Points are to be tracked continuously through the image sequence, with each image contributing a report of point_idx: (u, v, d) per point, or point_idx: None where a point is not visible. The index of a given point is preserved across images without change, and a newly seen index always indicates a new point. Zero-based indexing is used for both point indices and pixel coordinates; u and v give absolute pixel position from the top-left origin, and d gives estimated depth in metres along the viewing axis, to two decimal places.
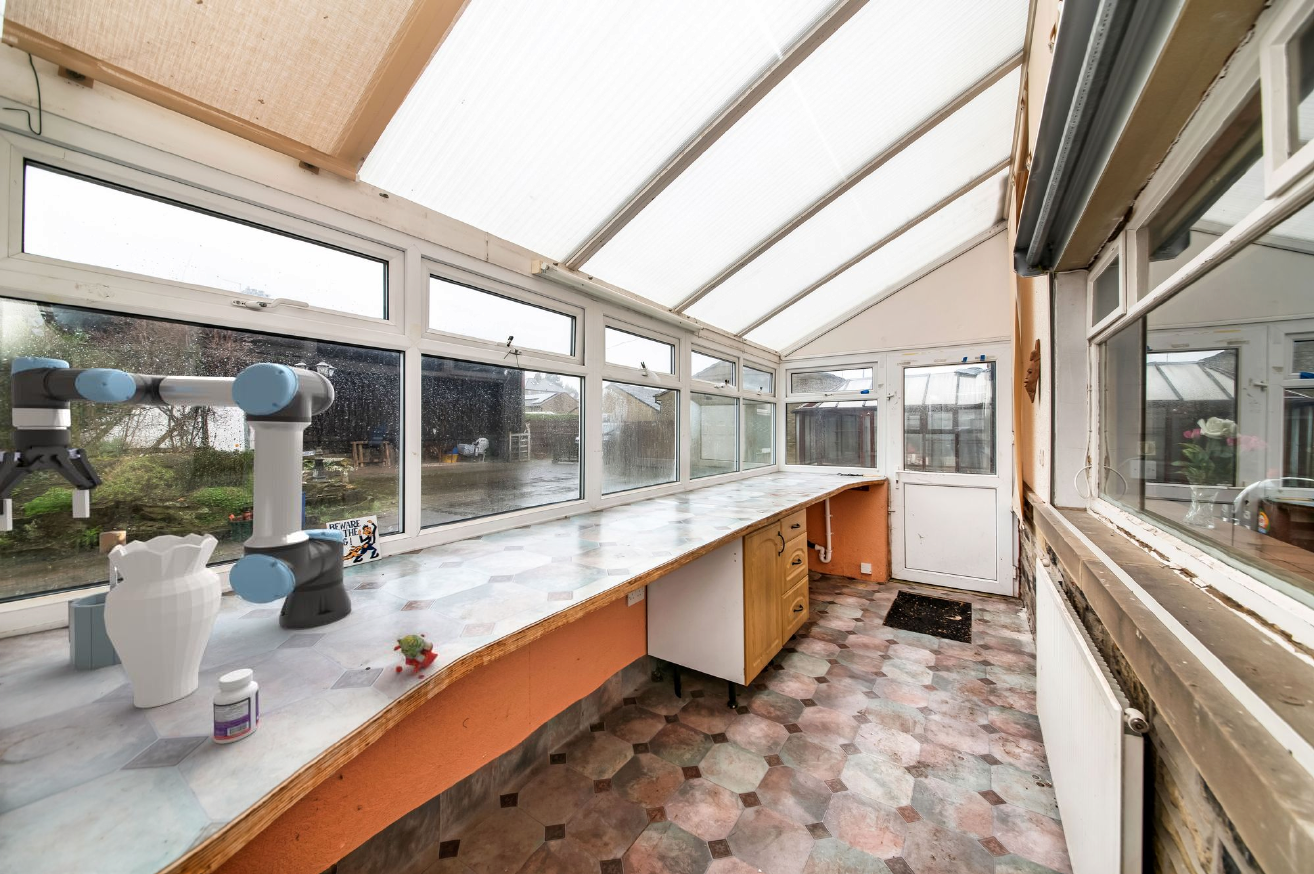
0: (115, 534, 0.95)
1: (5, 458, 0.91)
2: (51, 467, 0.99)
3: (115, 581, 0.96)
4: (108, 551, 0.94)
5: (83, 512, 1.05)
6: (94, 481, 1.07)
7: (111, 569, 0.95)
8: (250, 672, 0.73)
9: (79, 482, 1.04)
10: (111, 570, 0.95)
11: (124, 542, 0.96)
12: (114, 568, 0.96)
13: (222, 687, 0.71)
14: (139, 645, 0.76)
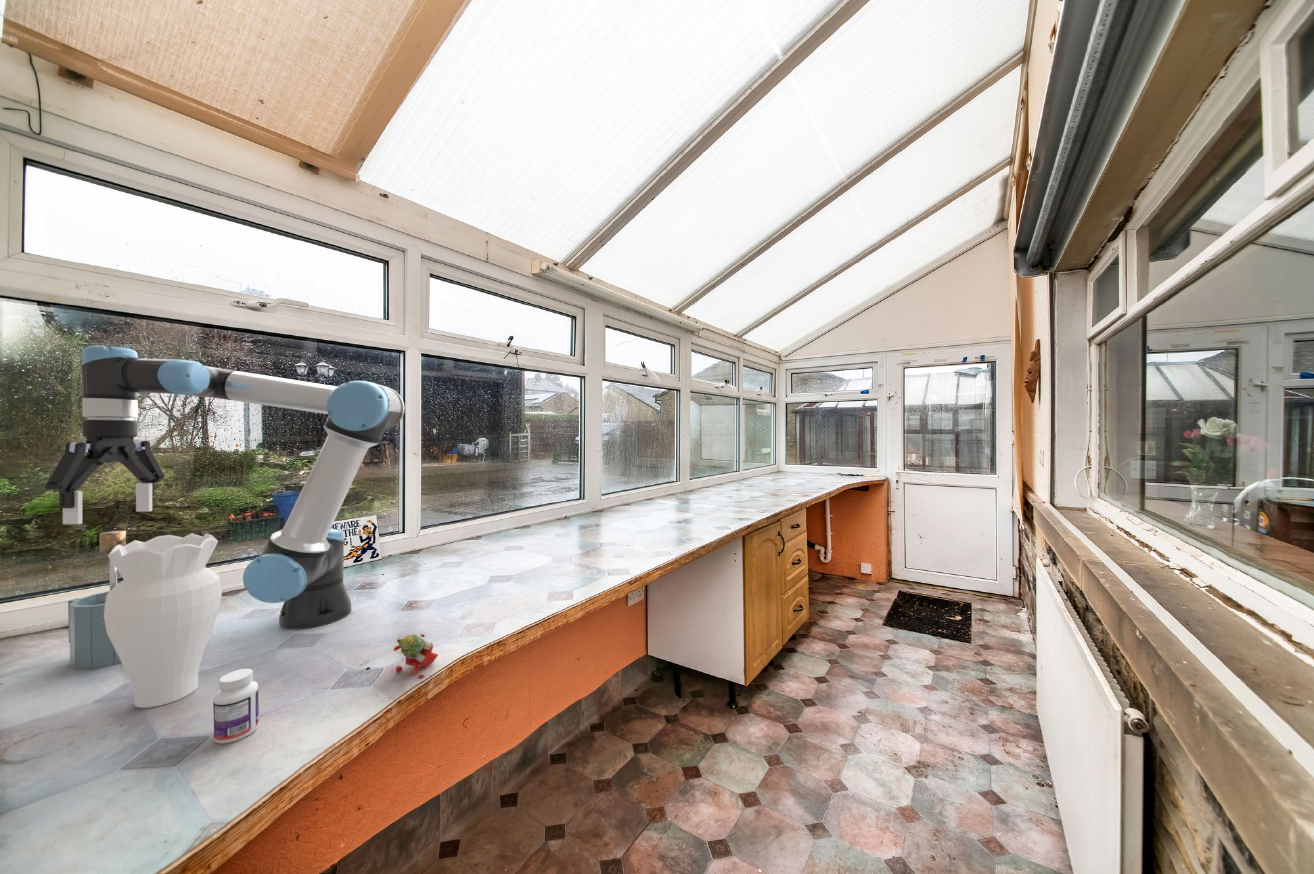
0: (115, 534, 0.95)
1: (77, 449, 0.89)
2: (118, 459, 0.96)
3: (115, 581, 0.96)
4: (108, 551, 0.94)
5: (146, 506, 1.02)
6: (157, 474, 1.04)
7: (111, 569, 0.95)
8: (250, 672, 0.73)
9: (143, 475, 1.01)
10: (111, 570, 0.95)
11: (124, 542, 0.96)
12: (114, 568, 0.96)
13: (222, 687, 0.71)
14: (139, 645, 0.76)
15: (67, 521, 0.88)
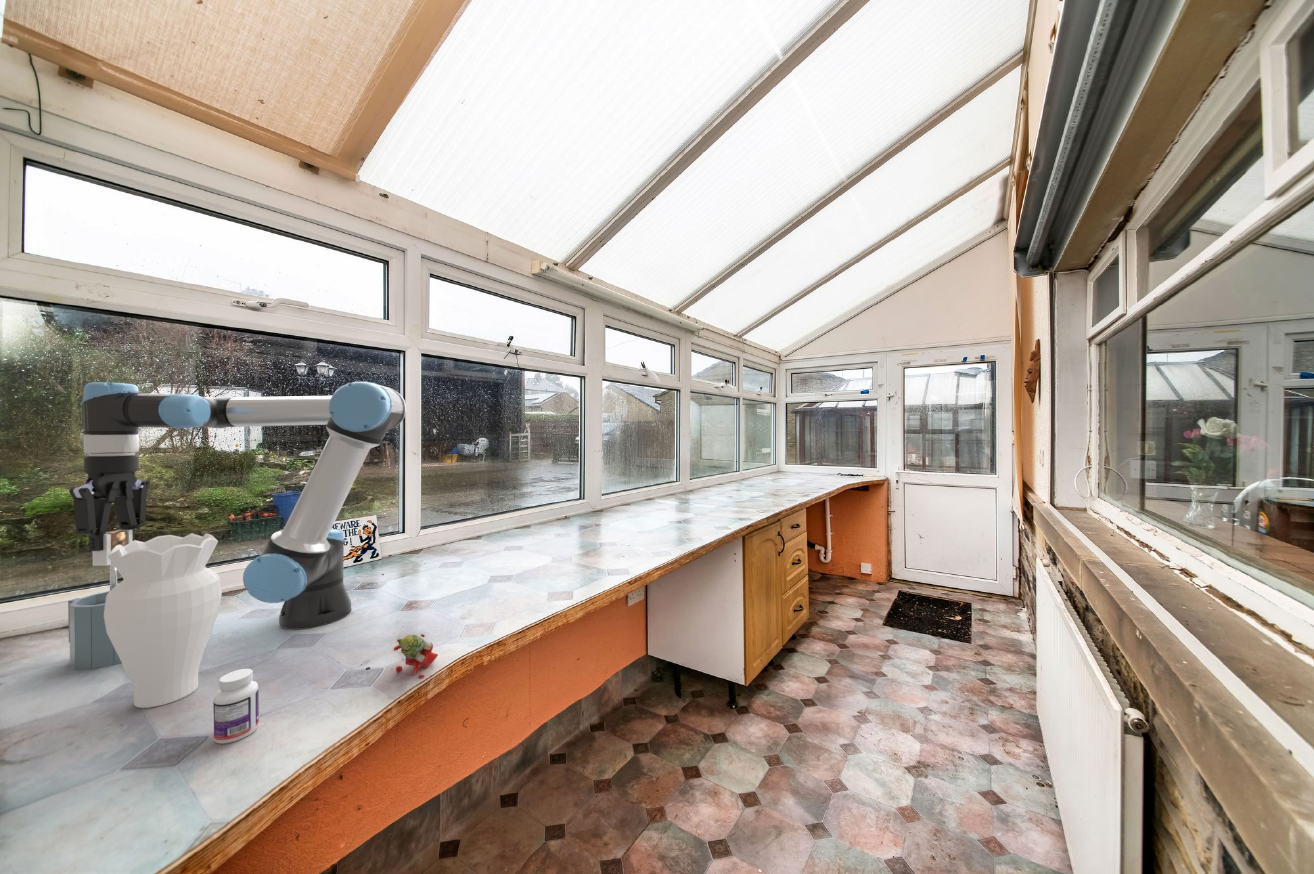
0: (115, 534, 0.95)
1: (83, 496, 0.90)
2: (120, 494, 0.96)
3: (115, 581, 0.96)
4: None
5: None
6: (139, 518, 1.00)
7: (111, 569, 0.95)
8: (250, 672, 0.73)
9: (127, 517, 0.98)
10: (111, 570, 0.95)
11: (124, 542, 0.96)
12: (114, 568, 0.96)
13: (222, 687, 0.71)
14: (139, 645, 0.76)
15: (96, 562, 0.93)
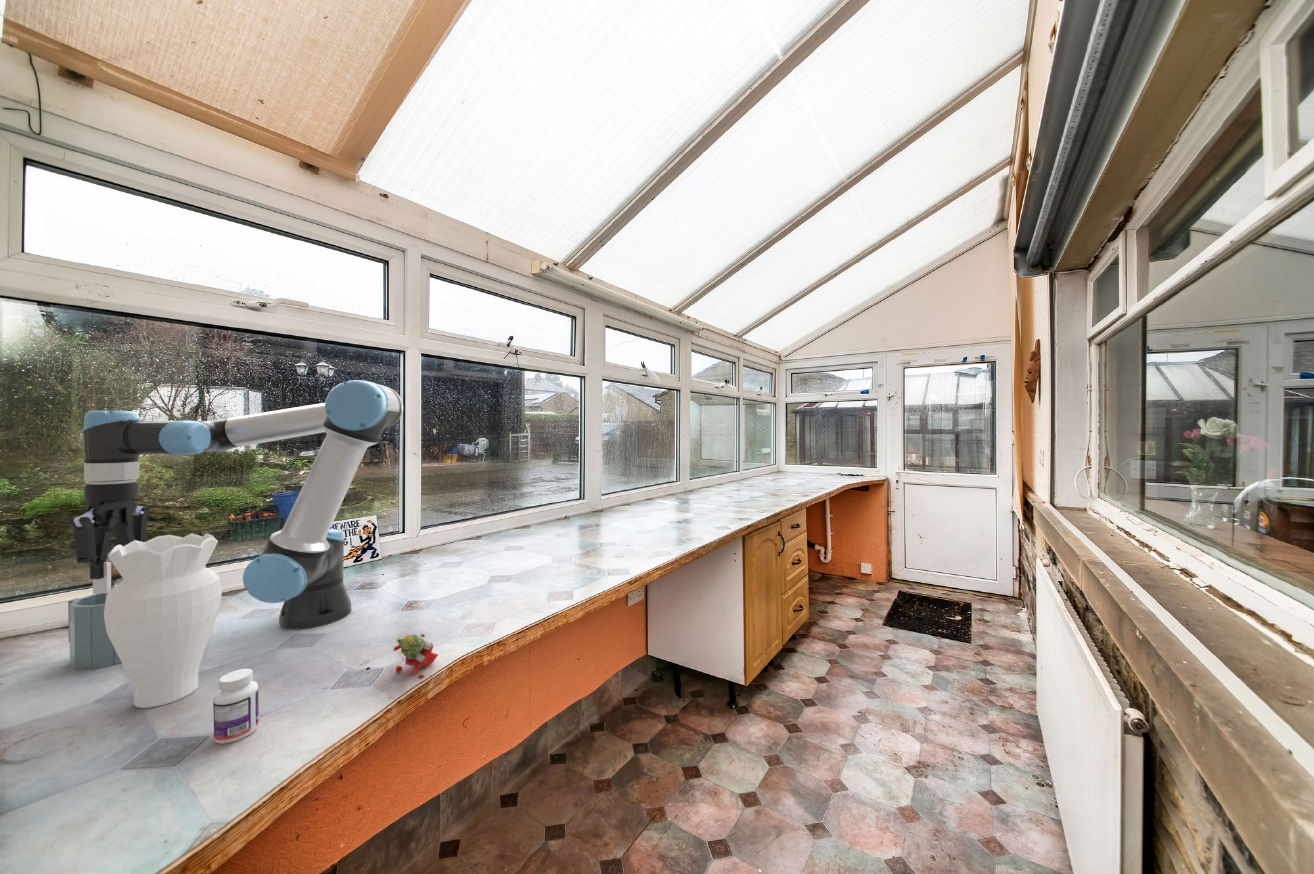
0: None
1: (84, 525, 0.90)
2: (120, 521, 0.96)
3: None
4: None
5: None
6: None
7: None
8: (250, 672, 0.73)
9: None
10: None
11: None
12: None
13: (222, 687, 0.71)
14: (139, 645, 0.76)
15: (97, 590, 0.93)
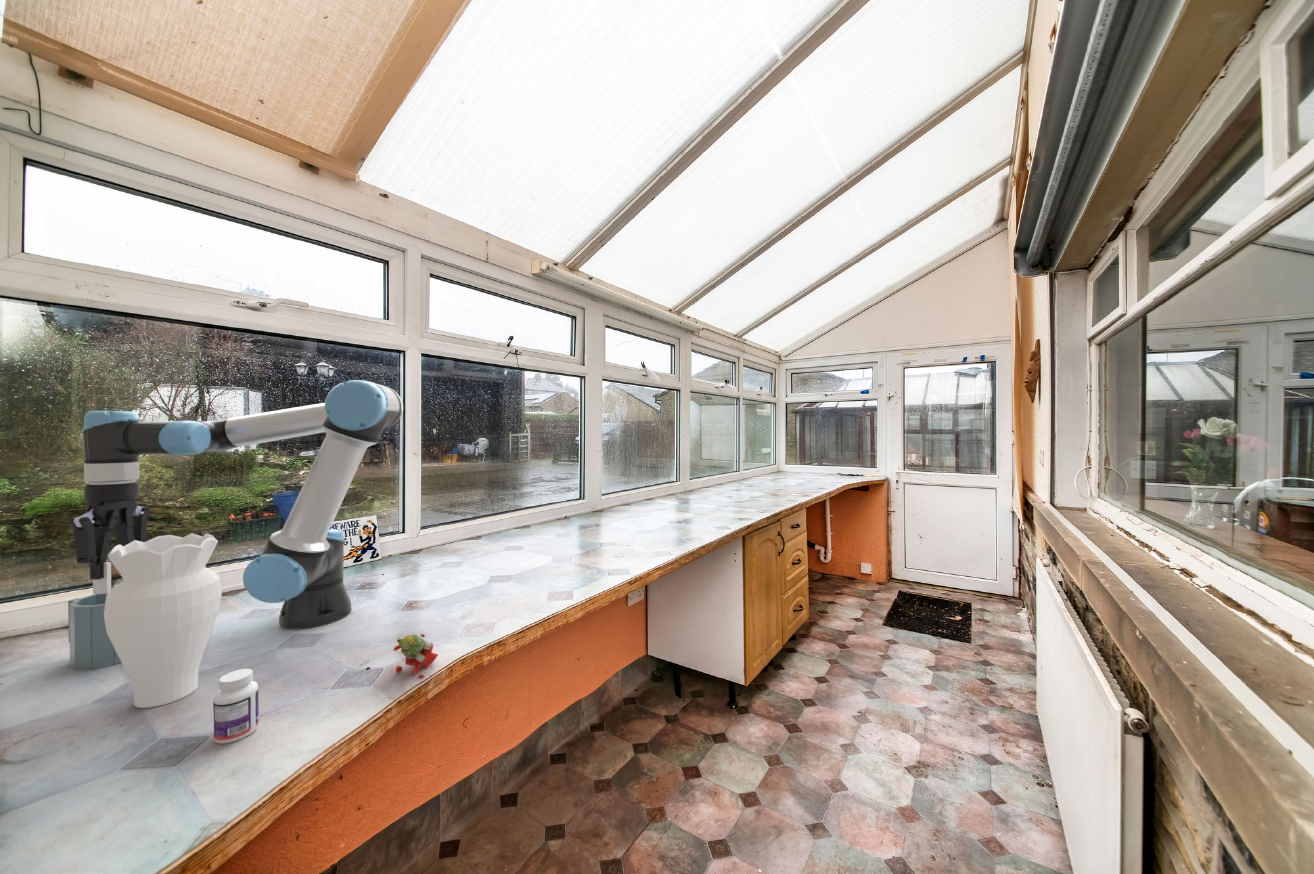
0: None
1: (84, 525, 0.90)
2: (120, 521, 0.96)
3: None
4: None
5: None
6: None
7: None
8: (250, 672, 0.73)
9: None
10: None
11: None
12: None
13: (222, 687, 0.71)
14: (139, 645, 0.76)
15: (97, 591, 0.93)
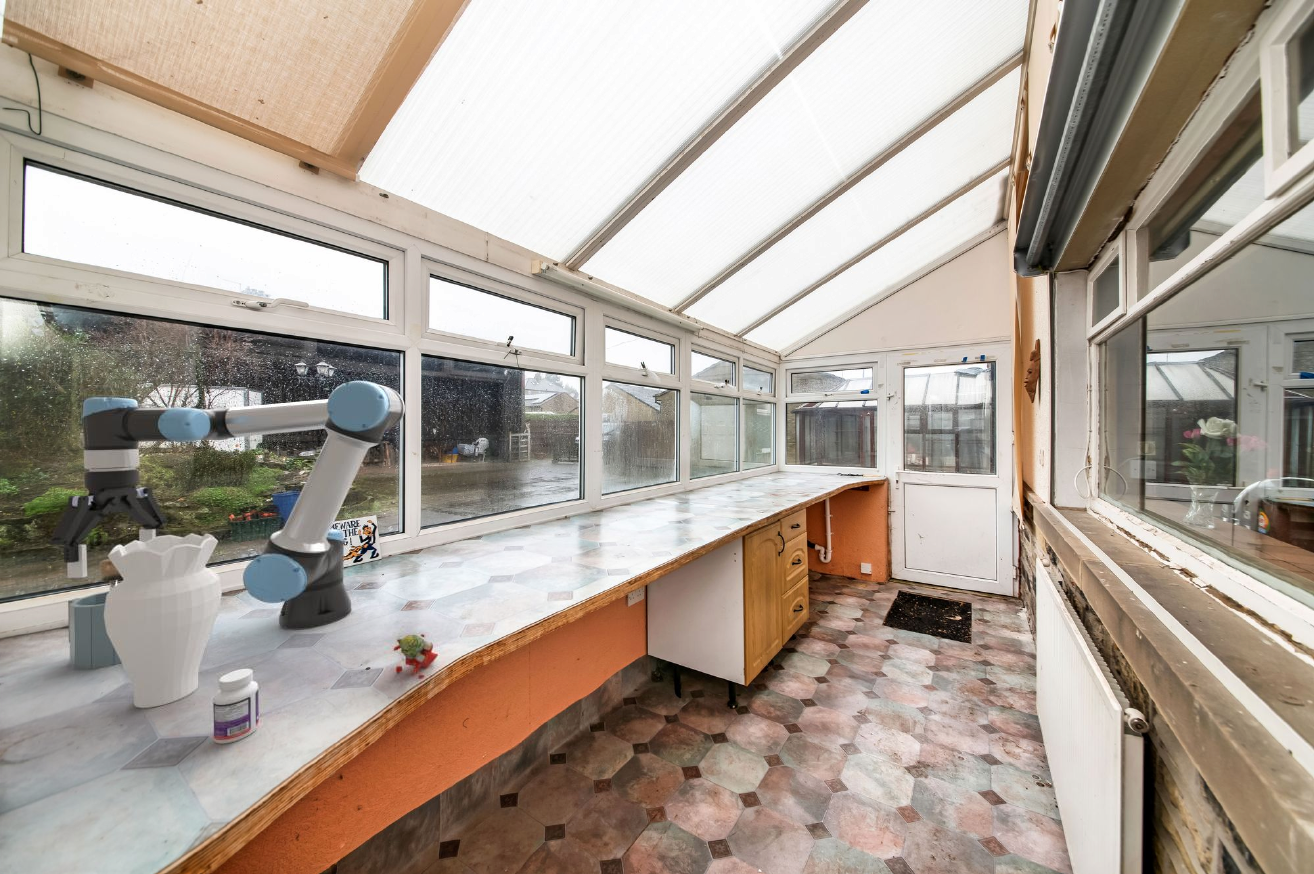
0: None
1: (80, 503, 0.89)
2: (121, 509, 0.96)
3: None
4: (108, 579, 0.94)
5: None
6: (160, 520, 1.04)
7: None
8: (250, 672, 0.73)
9: (146, 522, 1.02)
10: None
11: None
12: None
13: (222, 687, 0.71)
14: (139, 645, 0.76)
15: (71, 575, 0.89)
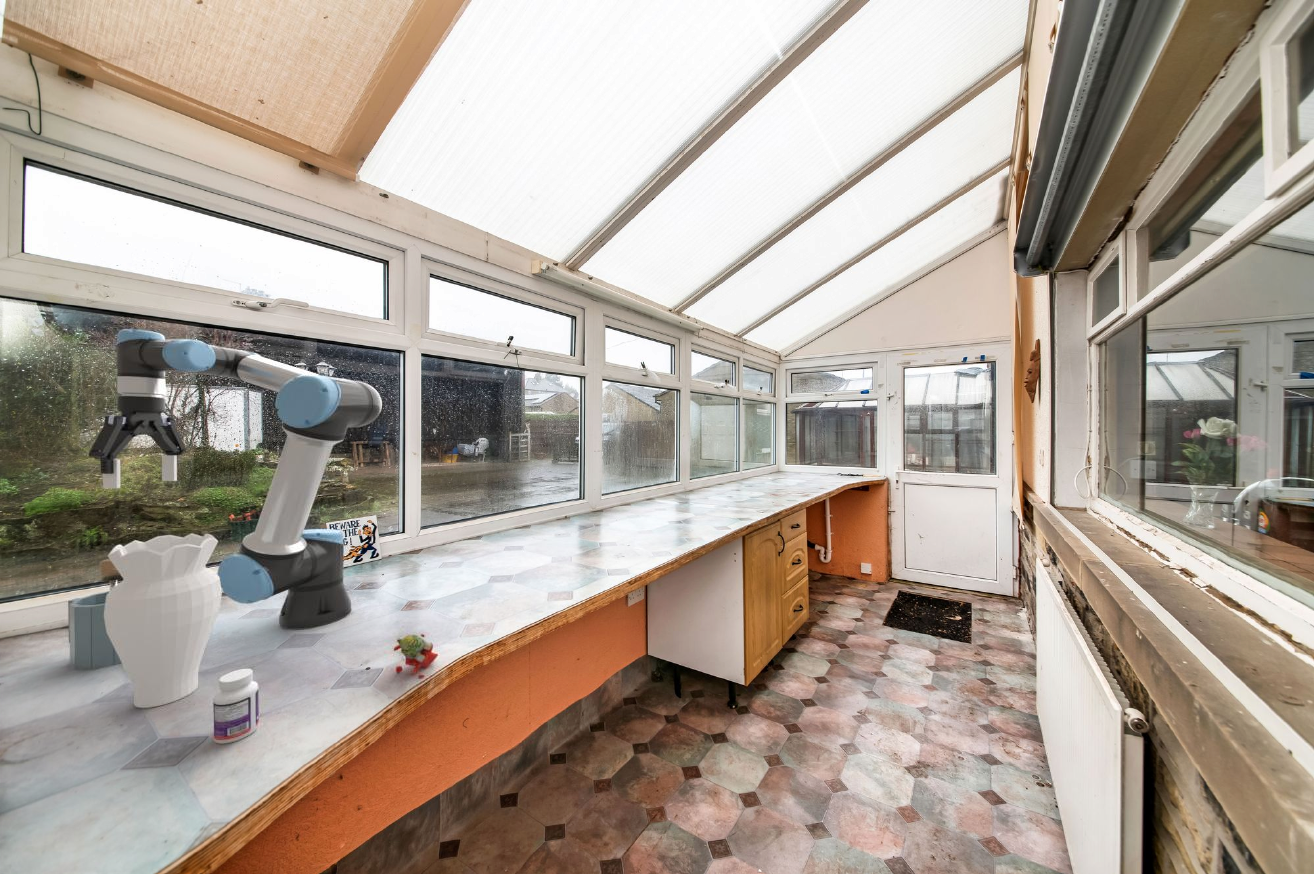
0: None
1: (115, 421, 0.99)
2: (149, 432, 1.07)
3: None
4: (108, 579, 0.94)
5: (172, 476, 1.13)
6: (180, 448, 1.15)
7: None
8: (250, 672, 0.73)
9: (169, 448, 1.12)
10: None
11: None
12: None
13: (222, 687, 0.71)
14: (139, 645, 0.76)
15: (106, 485, 0.99)
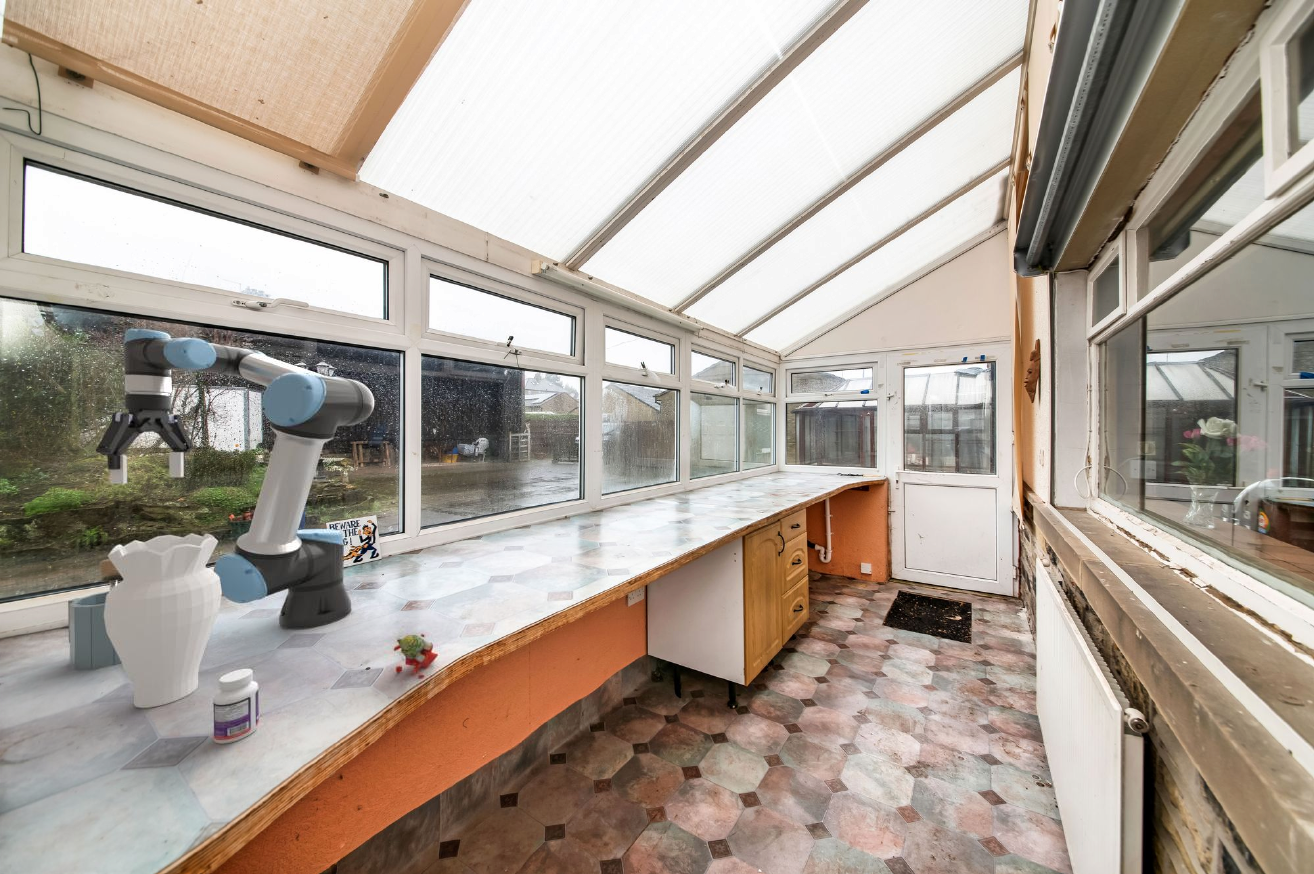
0: None
1: (122, 418, 1.02)
2: (155, 429, 1.09)
3: None
4: (108, 579, 0.94)
5: (178, 472, 1.15)
6: (187, 445, 1.17)
7: None
8: (250, 672, 0.73)
9: (176, 445, 1.15)
10: None
11: None
12: None
13: (222, 687, 0.71)
14: (139, 645, 0.76)
15: (114, 481, 1.02)
